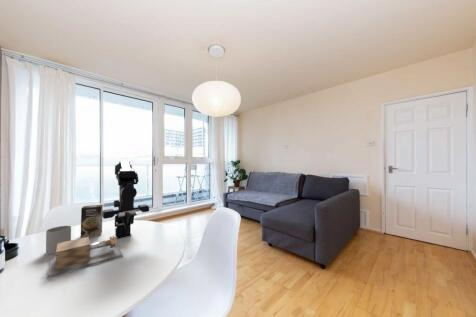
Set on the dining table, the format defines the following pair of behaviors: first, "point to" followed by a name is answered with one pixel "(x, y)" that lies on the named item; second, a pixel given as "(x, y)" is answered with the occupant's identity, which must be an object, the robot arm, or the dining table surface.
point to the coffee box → (91, 221)
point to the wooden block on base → (79, 256)
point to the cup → (56, 238)
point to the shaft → (104, 244)
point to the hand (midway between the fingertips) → (126, 228)
